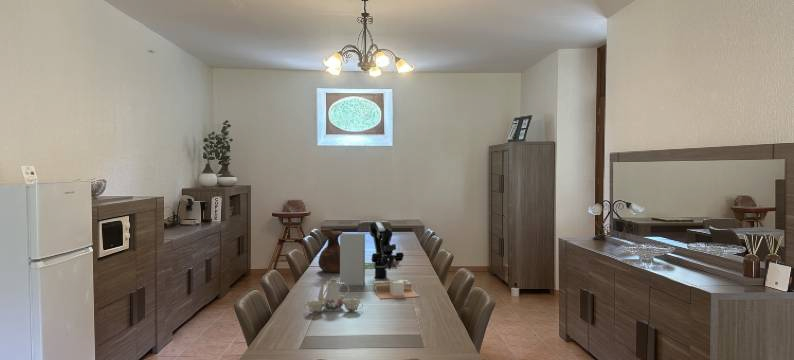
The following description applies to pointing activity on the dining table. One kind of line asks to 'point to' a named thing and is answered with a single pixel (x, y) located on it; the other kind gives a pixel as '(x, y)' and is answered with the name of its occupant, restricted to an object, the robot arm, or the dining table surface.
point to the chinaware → (332, 299)
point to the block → (397, 287)
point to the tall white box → (352, 259)
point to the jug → (331, 252)
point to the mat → (389, 296)
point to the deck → (388, 286)
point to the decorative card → (393, 266)
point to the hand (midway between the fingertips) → (389, 269)
